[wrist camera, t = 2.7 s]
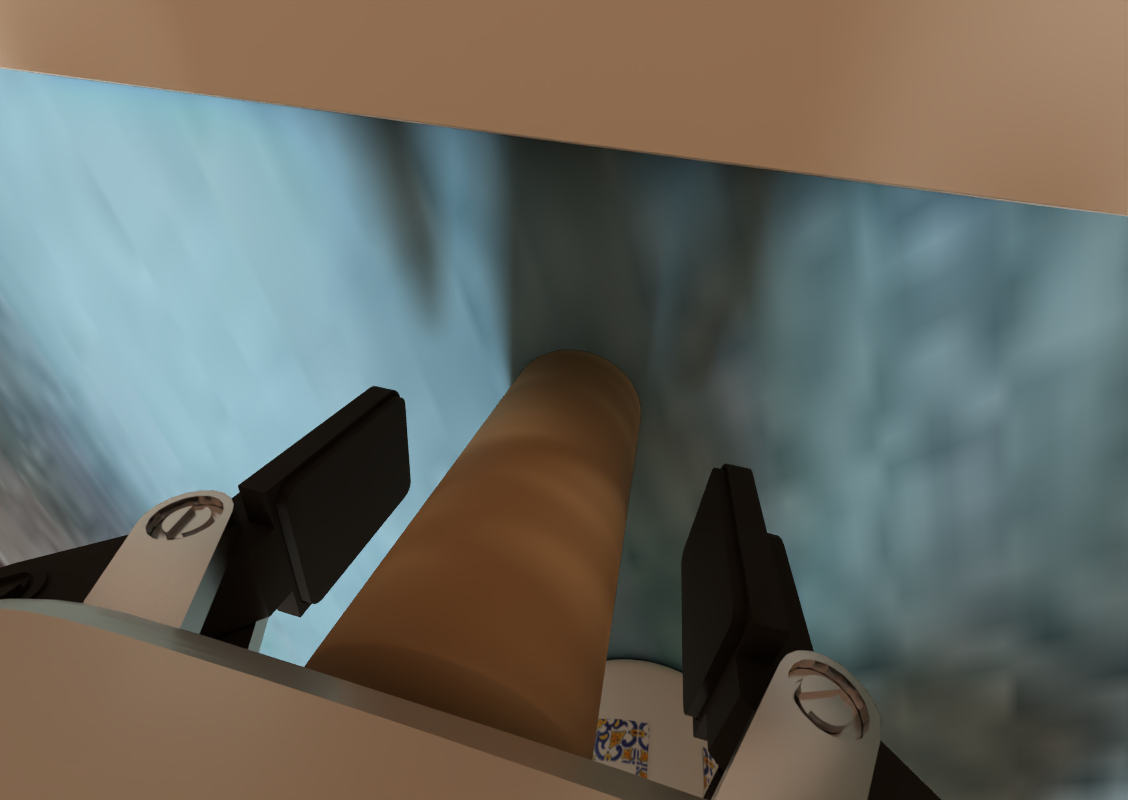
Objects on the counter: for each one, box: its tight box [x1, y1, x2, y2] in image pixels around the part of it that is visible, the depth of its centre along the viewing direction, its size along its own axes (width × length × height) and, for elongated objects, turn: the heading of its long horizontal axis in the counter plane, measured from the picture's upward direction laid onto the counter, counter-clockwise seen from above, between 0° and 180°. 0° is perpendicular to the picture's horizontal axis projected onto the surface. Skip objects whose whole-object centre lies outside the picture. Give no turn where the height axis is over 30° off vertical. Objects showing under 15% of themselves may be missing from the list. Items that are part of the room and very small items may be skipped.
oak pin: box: [305, 350, 641, 760], centre depth 10 cm, size 4×4×9 cm
